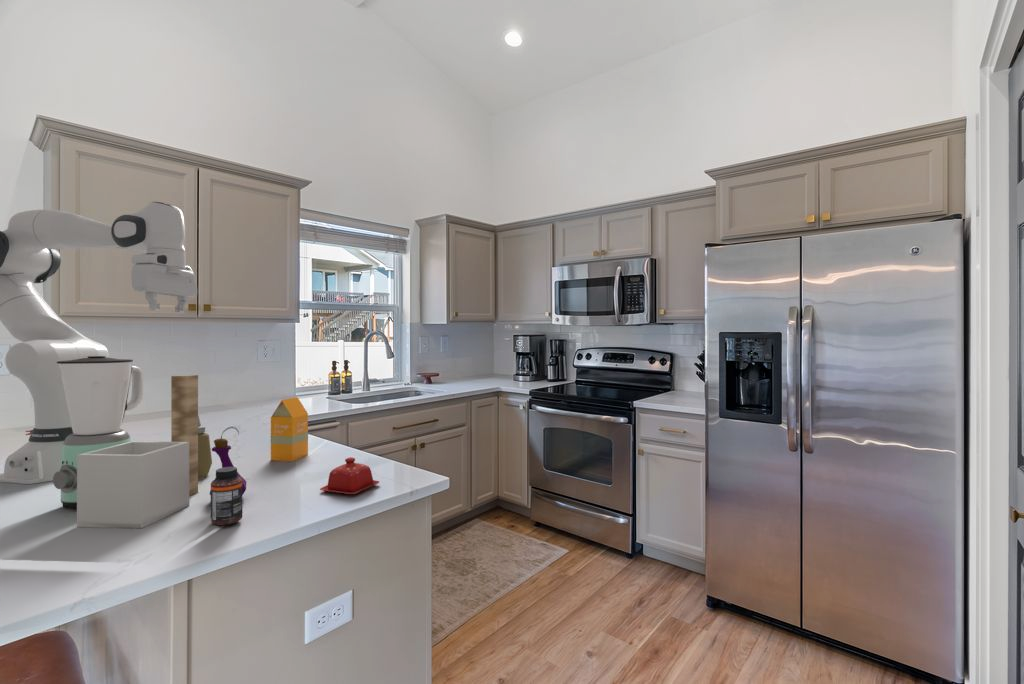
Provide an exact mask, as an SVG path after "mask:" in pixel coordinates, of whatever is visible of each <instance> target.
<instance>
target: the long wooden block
mask: <svg viewBox="0 0 1024 684" xmlns="http://www.w3.org/2000/svg"><path fill="white" fill-rule="evenodd" d="M170 379H171V381H170V384H171V385H170V386H171V389H170V390H171V392H170V393H171V397H170V398H171V409H170V410H171V411H170V412H171V416H170V418H171V419H170V421H171V423H170V425H171V429H170V430H171V435H170V436H171V441H170V442H189V497H191V496H193V495H196V494H197V493H199V479H198V416H199V375H198V374H181V375H171V378H170Z"/></svg>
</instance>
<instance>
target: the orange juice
mask: <svg viewBox="0 0 1024 684" xmlns="http://www.w3.org/2000/svg"><path fill="white" fill-rule="evenodd" d="M307 455H309V413H308V412H307V410H306V409H305V407H304V405H303V403H302V402H301V400H300V399H299V397H298V396H296V397H290V398H286V399H281V401H280V402H279V404H278V406H277V407H276V409H275V410H274V411H273V414H272V415H271V416H270V461H280V462H281V461H283V462H294V461H295V460H296V461H297V460H298V459H300V458H302V457H305V456H307Z"/></svg>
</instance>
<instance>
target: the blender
mask: <svg viewBox="0 0 1024 684" xmlns="http://www.w3.org/2000/svg"><path fill="white" fill-rule="evenodd" d="M105 357H106V356H88V358H81V359H75V360H66V361H58V362H57V364H58V365H59V368H60V370H61V376H62V382H63V387H64V392H65V397H66V402H67V407H68V412H69V416H70V421H71V426H72V430H73V434H70V435H69V436H68V437H66V439H65V441H64V442H63V444H62V449H61V468H60V471H58V472H56V473H55V474H54V476H53V481H52V483H53V485H54V488H56V489H57V490H60V502H61V504H62V508H77V455H79V454H83V453H87V452H91V451H95V450H99V449H103V448H107V447H111V446H115V445H119V444H123V443H127V442H131V441H132V438H131V435H130V434H129V432H128V431H126V430H125V429H122V425H123V422H124V418H125V414H126V411H132V410H133V409H136V408H137V407H138V406H139V405H140V404H141V402H142V401H143V395H144V373H143V370H142V368H140V367H138V366H135V365H133V362H134V360H133V359H126V358H124V359H123V358H113V357H109V358H105ZM131 380H132V381H131ZM130 383H132V384H130ZM130 385H132V386H131V397H130V400H129V402H128V399H129V398H128V396H129V391H130Z"/></svg>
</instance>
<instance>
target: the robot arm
mask: <svg viewBox="0 0 1024 684" xmlns="http://www.w3.org/2000/svg"><path fill="white" fill-rule="evenodd" d="M7 226H8V227H7V228H6V229H5V230H0V322H1V324H3V325H4V327H5V329H6V330H7V331H8V332H9V334H10V335H11V336H12V337H13V338H14V339H16V340H17V341H20V342H18V343H15V344H13V345H12V346H11V347H10V348H9V349H8V350H7V352H6V355H5V358H4V360H5V361H4V362H5V367H6V369H7V370H8V372H9V373H10V374H11V375H13V376H14V377H16V378H18V379H19V381H22V382H23V383H24V384H25V386H26V388H27V389H28V391H29V392H30V395H31V397H32V401H33V407H34V410H33V411H34V427H33V429H31V430H25V433H26V434H25V436H29V438H28V440H27V441H28V442H26V443H25V444H24V445H21V447H20V448H18V449H17V450H15V451H13V453H10V455H8V456H7V458H6V459H5V461H4V469H3V472H2V473H0V483H1V482H4V483H11V484H13V483H14V484H21V485H33V484H40V483H45V482H53V476H54V474H55V473H56V472H58V471H60V468H61V449H62V444H63V442H64V441H65V439H66V437H68V436H69V435H70V434H73V430H72V426H71V421H70V416H69V412H68V407H67V402H66V397H65V392H64V387H63V382H62V376H61V370H60V368H59V365H58V364H57V362H58V361H66V360H75V359H81V358H88V356H106V357H105V358H110V353H109V350H108V348H107V347H106V346H105V345H104V344H102V343H101V342H97V341H96V340H93V339H90V338H89V337H87V336H85V335H83V334H82V333H81V332H80V331H78V330H76V329H74V327H71V326H70V325H69V324H68V323H66V322H65V321H64V320H63V319H62V318H60V316H58V315H57V313H56V312H55V311H54V310H53V309H52V307H51V306H50V305H49V304H48V303H47V302H46V300H45V299H44V298H43V296H42V295H41V294H40V293H39V291H38V290H37V289H36V286H35V284H42V283H45V282H47V280H48V279H49V278H51V277H52V276H53V275H55V273H56V272H57V271H58V270H59V269H60V267H61V264H62V259H61V254H60V252H59V250H83V249H86V250H87V249H88V250H89V249H108V248H109V249H111V248H114V249H126V250H130V251H133V252H135V251H136V252H139V253H140V254H135V255H132V256H131V258H130V259H131V260H130V261H131V263H132V264H133V265H132V268H131V275H130V276H131V287H132V289H133V290H134V292H137V293H144V296H145V299H146V301H147V303H148V305H149V310H150V311H159V310H160V307H161V305H160V303H158V302H157V295H162V296H170V297H176V300H177V301H178V302H177V305H175V306H174V308H175V309H174V312H175V313H185V306H186V305H187V303H188V298H196V297H197V296H198V285H197V283H198V282H197V279H196V275H195V273H194V271H193V270H192V268H191V267H190V266H189V265H186V263H187V261H186V259H187V258H186V249H185V245H184V242H185V239H186V225H185V217H184V214H183V212H182V209H180V208H179V207H177V206H175V205H173V204H169V203H165V202H161V201H150V202H148V203H147V204H146V206H144V208H142V209H140V210H138V211H135V212H133V213H130V214H122V215H120V216H117V218H115V219H114V221H113V223H112V224H108V223H106V222H103V221H99V220H96V219H93V218H90V217H87V216H83V215H80V214H77V213H74V212H70V211H67V210H66V211H64V210H58V209H32V210H25V211H21V212H18V213H15V214H14V215H12V216H11V217H10V219H9V221H8V225H7ZM141 253H142V254H141Z"/></svg>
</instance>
